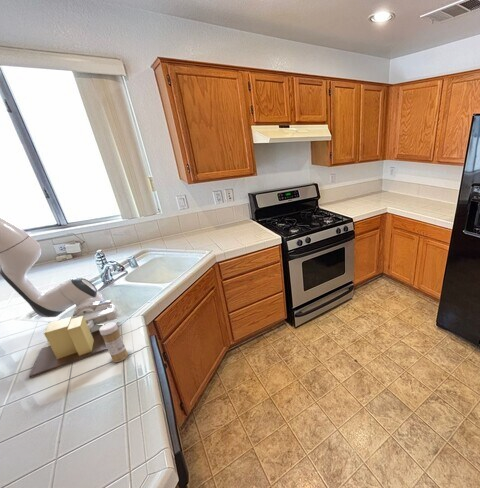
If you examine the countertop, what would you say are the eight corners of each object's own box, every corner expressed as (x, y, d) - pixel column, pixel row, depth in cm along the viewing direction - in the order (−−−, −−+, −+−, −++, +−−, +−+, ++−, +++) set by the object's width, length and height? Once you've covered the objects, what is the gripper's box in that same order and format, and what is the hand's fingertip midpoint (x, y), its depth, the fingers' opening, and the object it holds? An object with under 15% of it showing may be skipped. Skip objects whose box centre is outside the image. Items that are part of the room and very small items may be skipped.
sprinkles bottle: (124, 351, 93) (111, 320, 89) (131, 355, 91) (119, 323, 87) (109, 360, 90) (95, 328, 85) (116, 364, 88) (103, 331, 83)
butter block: (57, 359, 90) (43, 333, 87) (61, 347, 96) (49, 322, 92) (79, 351, 94) (67, 325, 90) (82, 340, 99) (71, 316, 95)
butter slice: (79, 355, 91) (66, 329, 88) (82, 343, 97) (70, 319, 94) (91, 351, 93) (80, 325, 89) (93, 340, 99) (83, 315, 95)
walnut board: (29, 378, 84) (28, 376, 84) (42, 349, 96) (41, 348, 96) (114, 347, 96) (113, 345, 95) (116, 326, 108) (115, 324, 108)
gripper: (50, 316, 101) (40, 335, 90) (115, 298, 112) (114, 313, 101) (56, 330, 103) (48, 350, 92) (120, 311, 114) (119, 326, 103)
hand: (83, 330), depth 97 cm, fingers closed
